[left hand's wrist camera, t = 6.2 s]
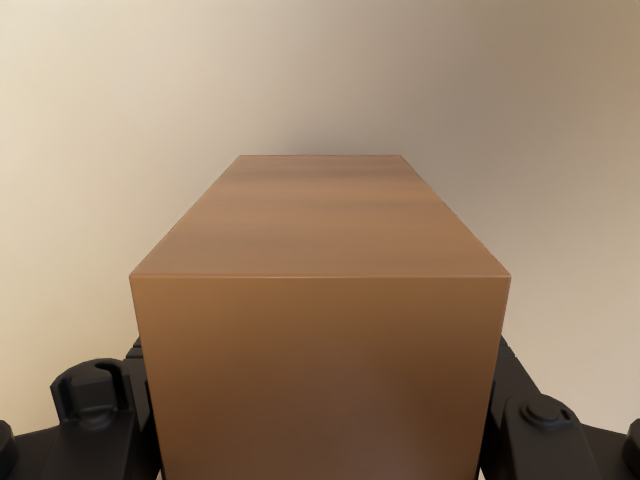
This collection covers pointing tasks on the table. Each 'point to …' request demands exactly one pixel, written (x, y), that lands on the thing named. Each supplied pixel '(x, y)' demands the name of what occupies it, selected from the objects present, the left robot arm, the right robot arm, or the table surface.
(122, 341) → the table surface
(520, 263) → the table surface
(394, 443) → the bar
